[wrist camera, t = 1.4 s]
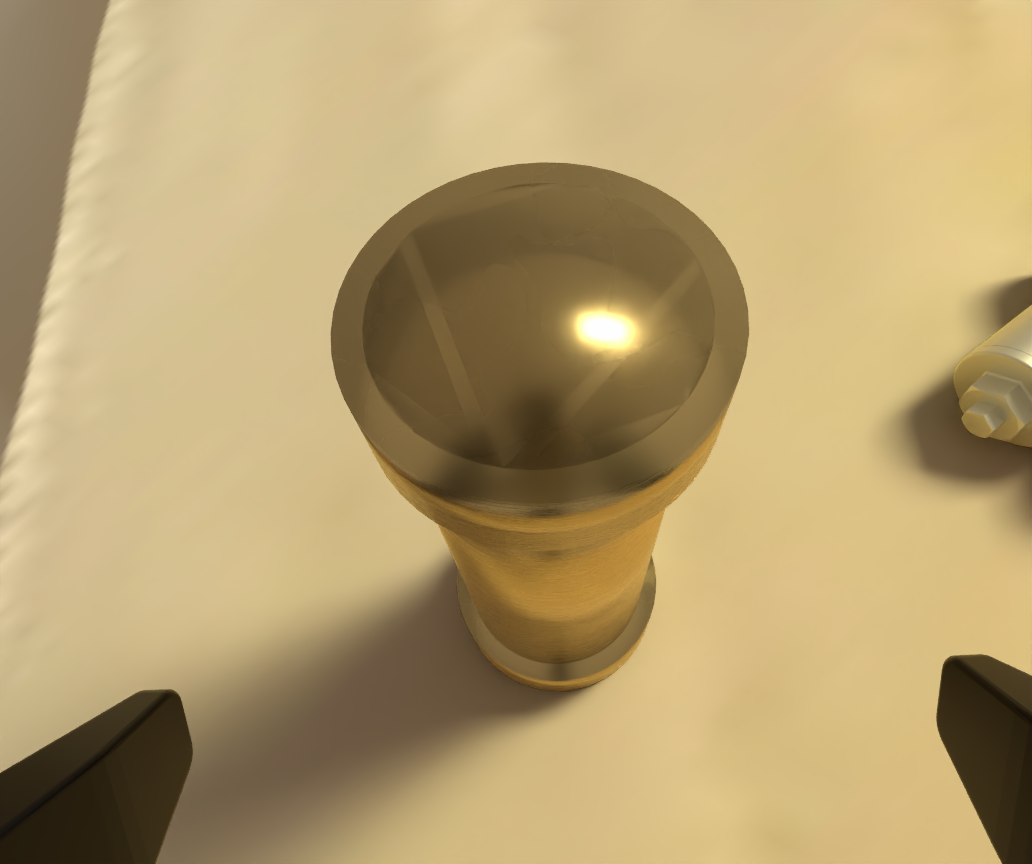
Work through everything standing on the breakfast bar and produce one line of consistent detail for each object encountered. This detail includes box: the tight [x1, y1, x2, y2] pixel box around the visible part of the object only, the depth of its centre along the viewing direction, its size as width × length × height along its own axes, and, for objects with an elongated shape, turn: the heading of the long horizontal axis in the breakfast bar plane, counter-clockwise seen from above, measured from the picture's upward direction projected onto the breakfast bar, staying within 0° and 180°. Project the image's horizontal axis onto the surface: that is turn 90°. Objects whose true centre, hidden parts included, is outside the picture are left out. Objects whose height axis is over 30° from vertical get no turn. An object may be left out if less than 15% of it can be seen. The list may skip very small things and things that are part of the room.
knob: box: [331, 163, 749, 691], centre depth 15 cm, size 5×5×13 cm
